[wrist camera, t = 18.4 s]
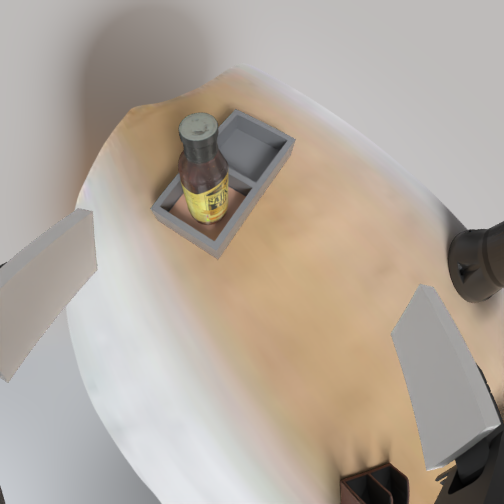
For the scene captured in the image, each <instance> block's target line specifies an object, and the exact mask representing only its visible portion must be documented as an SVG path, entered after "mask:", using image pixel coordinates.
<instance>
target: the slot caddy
mask: <svg viewBox="0 0 504 504" xmlns="http://www.w3.org/2000/svg"><path fill="white" fill-rule="evenodd" d="M218 131H219V133H218V137H217V144H218V148H219V150H220V152H221V153H222V155H223V156H224V158H225V159H226V161H227V163H228V166H229V173H228V180H229V181H228V209H227V212H226V214H225V216H224V217H223V218H222V219H221V220H220V221H219V222H217V223H215V224H212V225H203V224H200V223H198V222H197V221H196V220H195V219H194V218H193V217H192V216H191V214H190V212H189V210H188V206H187V202H186V199H185V195H184V191H183V188H182V184H181V180H180V174H179V173H178V174H177V176H176V177H175V178H174V179H173V180H172V182H171V183H170V184H169V185H168V187H167V188H166V189H165V190H164V192H163V193H162V194H161V195H160V197H159V198H158V199H157V201H156V202H155V203H154V205H153V206H152V207H151V208H150V209H151V210H152V212H153V213H154V215H155V216H156V218H157V220H158V221H160V222H161V223H163V224H164V225H166V226H167V227H169V228H170V229H172V230H173V231H175V232H176V233H178V234H179V235H181V236H183V237H184V238H186V239H187V240H189V241H190V242H192V243H193V244H195V245H196V246H198V247H200V248H201V249H203V250H204V251H206V252H207V253H209V254H210V255H212V256H214V257H215V258H217V259H219V258H220V256H221V255H222V253H223V252H224V250H225V249H226V247H227V246H228V245H229V243H230V242H231V240H232V239H233V237H234V236H235V234H236V233H237V231H238V230H239V228H240V227H241V226H242V224H243V223H244V221H245V220H246V218H247V217H248V215H249V214H250V212H251V211H252V210H253V208H254V207H255V205H256V204H257V202H258V201H259V199H260V198H261V197H262V195H263V194H264V192H265V191H266V189H267V188H268V187H269V185H270V184H271V182H272V181H273V179H274V178H275V177H276V175H277V174H278V172H279V171H280V170H281V168H282V167H283V165H284V164H285V162H286V161H287V160H288V158H289V157H290V155H291V152H292V149H293V146H294V143H295V140H296V139H294V138H292V137H290V136H289V135H287V134H285V133H283V132H281V131H279V130H277V129H275V128H273V127H271V126H269V125H267V124H265V123H263V122H261V121H259V120H257V119H255V118H253V117H251V116H249V115H247V114H245V113H243V112H241V111H239V110H236V109H235V110H234V111H233V112H232V113H231V115H230V116H229V117H228V118H227V119H226V120H225V121H224V122H223V123H222V124H221V125H220V126H219V127H218Z"/></svg>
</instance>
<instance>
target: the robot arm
mask: <svg viewBox="0 0 504 504" xmlns="http://www.w3.org/2000/svg"><path fill="white" fill-rule="evenodd" d="M97 270H98V269H97V260H96V250H95V239H94V225H93V211H88V210H84V209H79V208H78V209H77V210H75V211H74V212H72V213H71V214H69V215H68V216H66V217H65V218H64V219H62V220H61V221H59V222H58V223H57V224H55V225H54V226H53V227H51V228H50V229H48V230H47V231H46V232H44V233H43V234H42V235H41V236H39V237H38V238H36V239H35V240H34V241H33V242H32V243H30V244H29V245H28V246H26V247H25V248H24V249H23V250H21V251H20V252H19V253H18V254H16V255H15V256H14V257H13V258H12V259H10V260H9V261H8V262H6V263H4V264H2V265H0V378H2V379H3V380H5V381H6V382H7V383H9V381H10V380H11V378H12V377H13V375H14V374H15V372H16V371H17V370H18V368H19V367H20V365H21V364H22V362H23V361H24V360H25V358H26V357H27V355H28V354H29V353H30V351H31V350H32V348H33V347H34V346H35V345H36V343H37V342H38V341H39V339H40V338H41V337H42V335H43V334H44V333H45V331H46V330H47V329H48V328H49V326H50V325H51V324H52V322H53V321H54V320H55V319H56V317H57V316H58V315H59V314H60V313H61V311H62V310H63V309H64V308H65V306H66V305H67V304H68V303H69V302H70V300H71V299H72V298H73V297H74V296H75V295H76V293H77V292H78V291H79V290H80V289H81V288H82V286H83V285H84V284H85V283H86V282H87V281H88V280H89V279H90V277H91V276H92V275H93V274H94V273H95V272H96V271H97ZM449 270H450V275H451V279H452V282H453V284H454V286H455V288H456V290H457V292H458V293H459V294H460V296H461V297H462V298H463V299H465V300H466V301H468V302H471V303H478V302H483V301H485V300H487V299H489V298H490V297H491V296H492V295H493V294H494V293H496V292H498V291H499V290H500V289H502V288H503V287H504V221H503V222H501V223H499V224H497V225H495V226H493V227H492V228H489V229H478V230H467V231H464V232H462V233H460V234H459V235H457V236H456V237H455V238H454V240H453V242H452V244H451V247H450V250H449ZM391 336H392V339H393V342H394V345H395V348H396V352H397V355H398V358H399V361H400V364H401V367H402V371H403V374H404V378H405V381H406V384H407V388H408V392H409V395H410V399H411V403H412V406H413V410H414V414H415V418H416V423H417V427H418V431H419V436H420V440H421V445H422V450H423V455H424V460H425V465H426V471H427V470H432V469H437V468H442V467H444V466H445V465H447V464H449V463H450V462H452V461H453V460H455V461H456V465H455V466H453V467H452V468H450V469H449V470H447V471H445V472H444V473H442V474H440V475H439V476H438V477H437V478H436V480H435V481H439V480H440V479H442V478H444V477H446V476H447V478H446V479H444V480H443V481H442V482H440V484H442V485H443V487H442V489H441V491H440V493H439V495H438V497H437V499H436V501H435V503H434V504H504V423H503V420H502V417H501V415H500V412H499V410H498V407H497V404H496V402H495V400H494V397H493V395H492V393H490V392H491V390H490V388H489V385H488V384H487V381H486V379H485V376H484V374H483V372H482V370H481V369H480V368H479V366H478V365H477V364H476V363H475V361H474V359H473V357H472V355H471V353H470V351H469V349H468V347H467V345H466V343H465V341H464V339H463V337H462V335H461V334H460V332H459V330H458V328H457V326H456V324H455V323H454V321H453V319H452V317H451V315H450V314H449V312H448V310H447V309H446V307H445V305H444V303H443V302H442V300H441V298H440V297H439V295H438V293H437V292H436V290H435V289H434V287H431V286H427V285H423V284H419V286H418V288H417V290H416V292H415V293H414V295H413V297H412V299H411V301H410V302H409V304H408V306H407V307H406V309H405V311H404V313H403V314H402V316H401V318H400V319H399V321H398V323H397V324H396V326H395V327H394V329H393V331H392V332H391ZM0 504H5V501H4V497H3V494H2V490H1V487H0Z"/></svg>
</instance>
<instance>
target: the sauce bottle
mask: <svg viewBox="0 0 504 504" xmlns="http://www.w3.org/2000/svg"><path fill="white" fill-rule="evenodd" d="M218 133H219V131H218V123H217V121H216V119H215V118H214V117H213V116H211V115H209V114H207V113H195V114H191V115H188V116H187V117H185V118H184V119H183V120H182V121H181V123H180V125H179V135H180V139H181V141H182V143H183V146H184V151H183V152H182V154H181V155H180V158H179V164H178V169H179V174H180V180H181V184H182V188H183V191H184V195H185V199H186V202H187V206H188V210H189V212H190V214H191V216H192V217H193V218H194V219H195V220H196V221H197V222H198V223H200V224H203V225H212V224H215V223H217V222H219V221H220V220H221V219H222V218H223V217H224V216H225V214H226V212H227V209H228V181H229V180H228V173H229V166H228V163H227V161H226V159H225V158H224V156H223V155H222V153H221V152H220V150H219V148H218V144H217V137H218Z"/></svg>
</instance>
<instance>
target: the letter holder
mask: <svg viewBox="0 0 504 504" xmlns="http://www.w3.org/2000/svg"><path fill="white" fill-rule="evenodd" d="M340 487H341V504H409V480H408V478H407V477H406V476H405V475H404V474H403V473H402V472H400V471H399V470H398V469H397V468H395V467H394V466H393V465H392V464H391V463H388V464H386V465H383V466H381V467H378V468H375V469H373V470H370V471H367V472H364V473H361V474H358V475H355V476H352V477H349V478H346V479H343V480H341V481H340Z"/></svg>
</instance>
